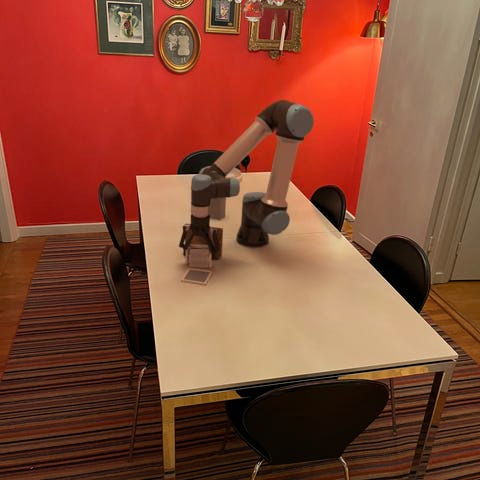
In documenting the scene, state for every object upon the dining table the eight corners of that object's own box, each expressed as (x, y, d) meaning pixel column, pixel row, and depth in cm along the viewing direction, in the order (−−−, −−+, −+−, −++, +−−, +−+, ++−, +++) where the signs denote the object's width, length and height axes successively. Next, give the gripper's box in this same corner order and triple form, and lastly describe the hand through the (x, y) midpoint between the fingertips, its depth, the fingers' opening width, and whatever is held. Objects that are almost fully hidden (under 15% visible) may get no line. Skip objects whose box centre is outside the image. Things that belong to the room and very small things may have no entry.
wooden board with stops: (222, 254, 204) (223, 227, 198) (219, 259, 199) (221, 231, 194) (187, 249, 206) (187, 222, 201) (183, 254, 202) (183, 226, 196)
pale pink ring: (195, 183, 292) (195, 174, 290) (205, 171, 316) (205, 163, 314) (237, 187, 288) (238, 179, 286) (244, 175, 313) (245, 167, 310)
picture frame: (212, 273, 188) (212, 271, 188) (205, 285, 179) (206, 283, 179) (188, 269, 190) (188, 268, 189) (180, 281, 181) (180, 279, 180)
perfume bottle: (207, 217, 241) (208, 184, 234) (213, 213, 247) (214, 180, 239) (219, 220, 239) (221, 186, 231) (225, 215, 245) (226, 182, 237)
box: (208, 263, 196) (209, 244, 192) (208, 268, 192) (209, 249, 188) (189, 262, 195) (190, 243, 192) (189, 267, 191) (189, 248, 188)
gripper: (229, 214, 186) (226, 264, 195) (176, 207, 189) (176, 257, 199) (225, 221, 179) (222, 272, 188) (170, 213, 182) (170, 264, 192)
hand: (198, 264), depth 193 cm, fingers open, 9 cm apart
